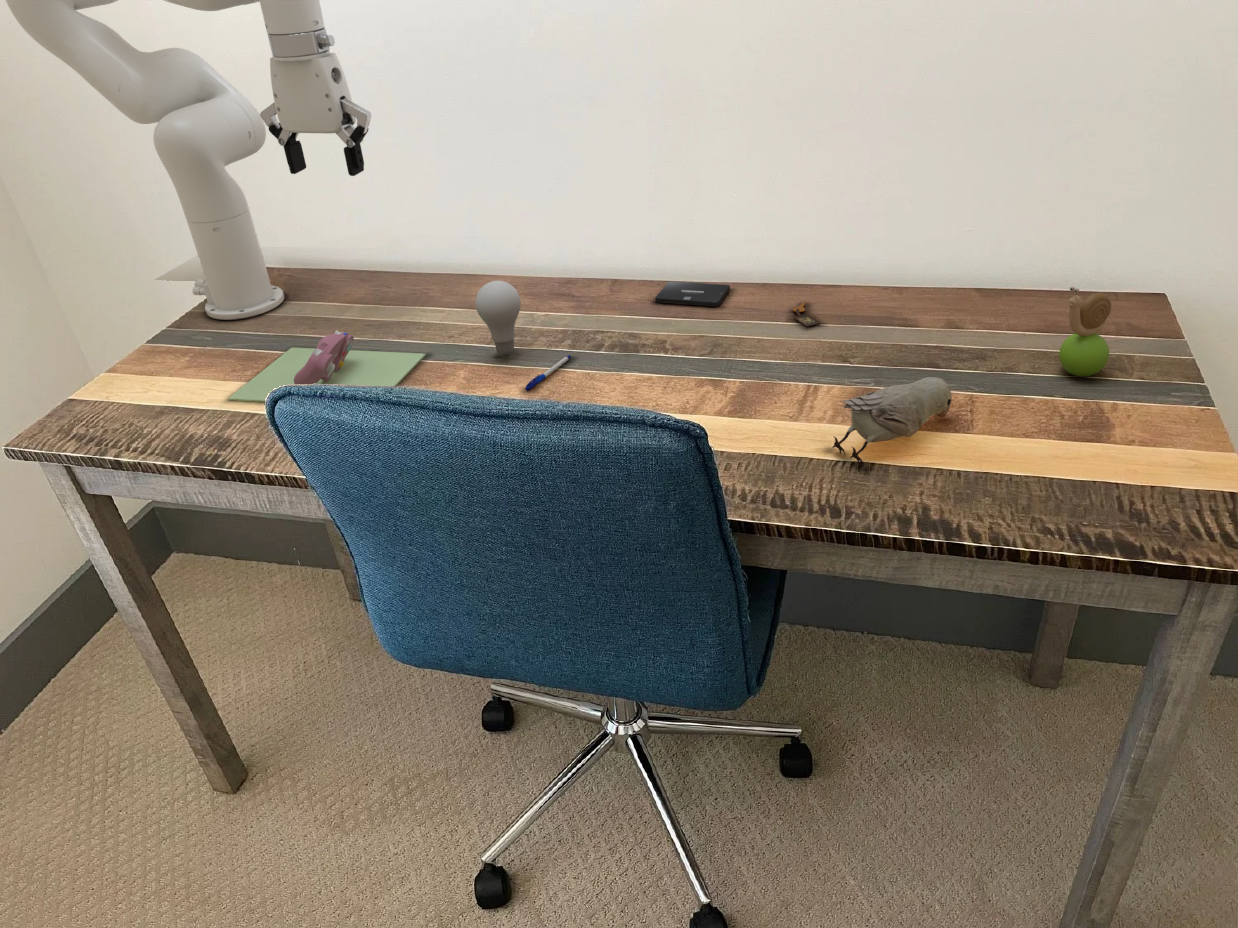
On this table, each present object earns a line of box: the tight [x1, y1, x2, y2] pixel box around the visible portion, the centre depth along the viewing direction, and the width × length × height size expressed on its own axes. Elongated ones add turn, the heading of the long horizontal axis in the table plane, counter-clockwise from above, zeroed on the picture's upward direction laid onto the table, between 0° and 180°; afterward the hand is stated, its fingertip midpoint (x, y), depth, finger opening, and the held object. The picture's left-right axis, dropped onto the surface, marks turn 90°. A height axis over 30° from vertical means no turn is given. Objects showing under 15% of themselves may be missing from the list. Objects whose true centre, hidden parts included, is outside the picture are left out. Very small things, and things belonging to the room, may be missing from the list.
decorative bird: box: [831, 376, 953, 466], centre depth 106 cm, size 5×16×8 cm, turn 122°
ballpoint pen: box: [524, 354, 572, 392], centre depth 129 cm, size 10×1×1 cm, turn 151°
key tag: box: [792, 301, 821, 328], centre depth 138 cm, size 8×3×1 cm, turn 7°
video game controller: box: [294, 329, 354, 384], centre depth 133 cm, size 10×5×7 cm, turn 168°
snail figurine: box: [1058, 286, 1112, 378], centre depth 114 cm, size 5×6×12 cm
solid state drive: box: [654, 280, 731, 307], centre depth 148 cm, size 7×10×1 cm
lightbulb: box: [475, 280, 522, 358], centre depth 133 cm, size 6×6×11 cm
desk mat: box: [228, 347, 427, 403], centre depth 134 cm, size 22×16×1 cm
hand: (327, 172), depth 139 cm, fingers open, 9 cm apart
